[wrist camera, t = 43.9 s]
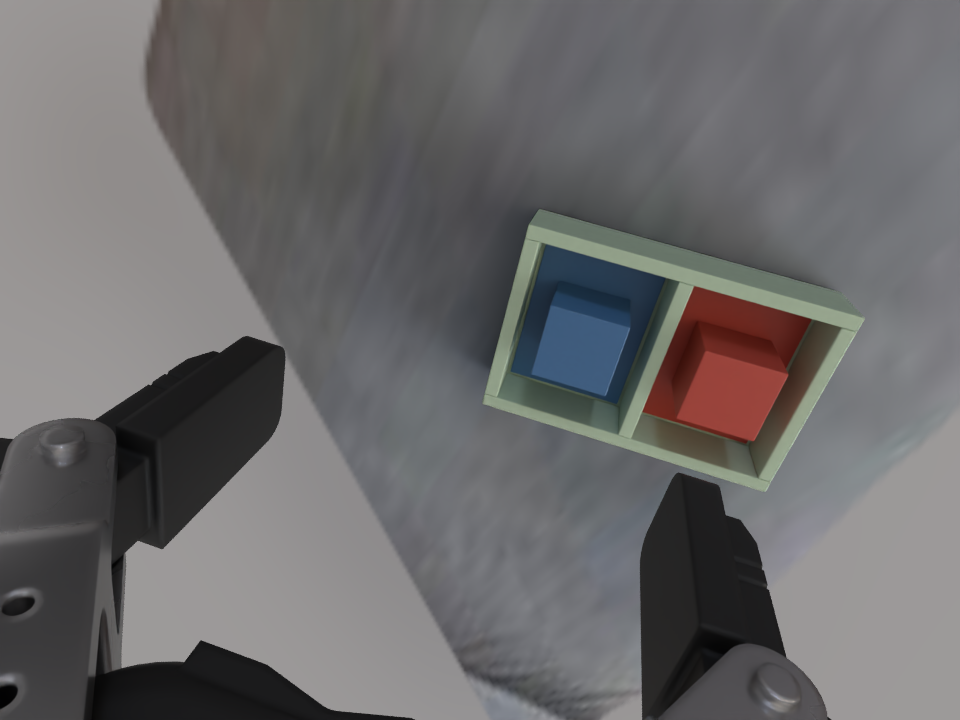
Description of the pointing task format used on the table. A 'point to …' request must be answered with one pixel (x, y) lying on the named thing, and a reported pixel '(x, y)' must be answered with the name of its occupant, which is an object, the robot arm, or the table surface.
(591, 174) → the table surface
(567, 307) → the blue block
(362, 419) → the table surface
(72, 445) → the robot arm
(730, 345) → the red block
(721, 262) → the sorting tray
